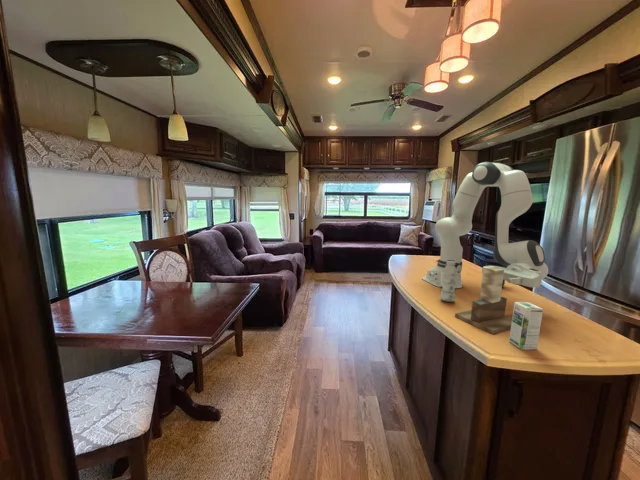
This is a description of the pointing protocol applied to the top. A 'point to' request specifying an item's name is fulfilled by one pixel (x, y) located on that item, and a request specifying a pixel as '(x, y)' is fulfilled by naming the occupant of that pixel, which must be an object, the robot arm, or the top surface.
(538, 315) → the syrup box
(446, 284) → the plastic bottle
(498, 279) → the ash post
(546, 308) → the top surface
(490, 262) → the storage jar
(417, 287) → the top surface
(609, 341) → the top surface
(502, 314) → the ridge
